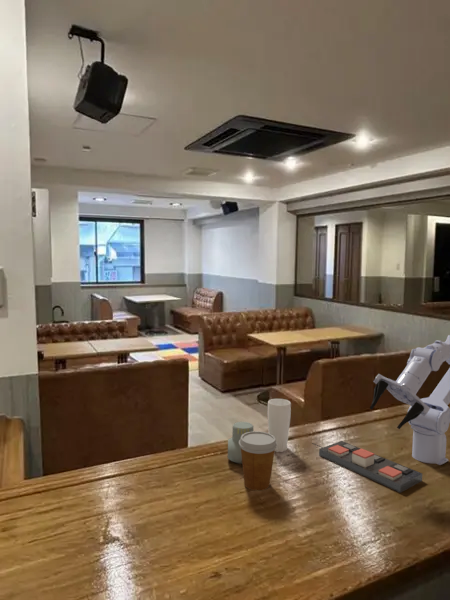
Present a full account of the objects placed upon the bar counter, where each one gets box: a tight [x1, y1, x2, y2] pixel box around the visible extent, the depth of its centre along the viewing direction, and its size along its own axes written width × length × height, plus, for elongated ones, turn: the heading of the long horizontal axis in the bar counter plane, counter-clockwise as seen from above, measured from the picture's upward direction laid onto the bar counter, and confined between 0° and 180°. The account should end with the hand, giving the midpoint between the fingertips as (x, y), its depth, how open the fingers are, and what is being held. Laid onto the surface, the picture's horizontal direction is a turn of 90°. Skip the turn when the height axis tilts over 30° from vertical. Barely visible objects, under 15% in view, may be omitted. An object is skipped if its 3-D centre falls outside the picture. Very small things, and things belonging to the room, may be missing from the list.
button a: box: [328, 445, 349, 457], centre depth 122 cm, size 4×4×3 cm
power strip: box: [311, 440, 423, 494], centre depth 120 cm, size 10×32×4 cm, turn 37°
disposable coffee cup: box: [239, 430, 277, 491], centre depth 109 cm, size 10×10×12 cm
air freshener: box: [227, 421, 254, 465], centre depth 123 cm, size 11×8×10 cm
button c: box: [378, 466, 402, 481], centre depth 109 cm, size 4×4×3 cm
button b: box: [352, 447, 375, 468], centre depth 116 cm, size 4×4×3 cm
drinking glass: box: [267, 398, 292, 453], centre depth 128 cm, size 7×7×15 cm
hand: (385, 416), depth 108 cm, fingers open, 7 cm apart
